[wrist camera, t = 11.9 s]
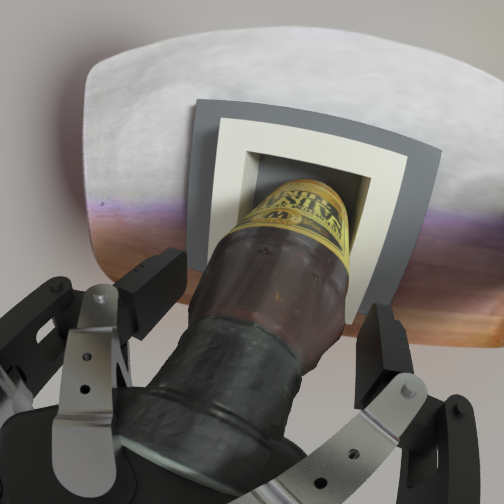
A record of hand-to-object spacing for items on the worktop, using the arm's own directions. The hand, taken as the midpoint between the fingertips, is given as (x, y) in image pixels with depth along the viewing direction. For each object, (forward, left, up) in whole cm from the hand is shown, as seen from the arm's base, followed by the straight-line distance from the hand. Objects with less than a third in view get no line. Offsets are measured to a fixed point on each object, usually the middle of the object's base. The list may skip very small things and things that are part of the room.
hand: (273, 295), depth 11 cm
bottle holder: (0, 0, -13) cm, 13 cm away
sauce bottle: (0, 0, -12) cm, 12 cm away
